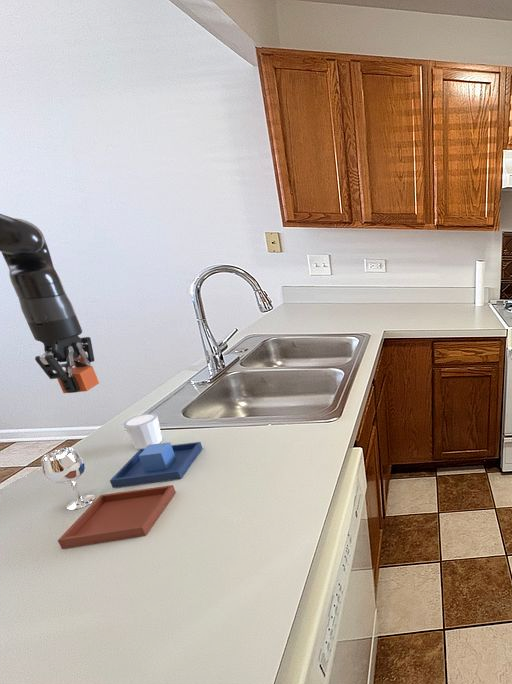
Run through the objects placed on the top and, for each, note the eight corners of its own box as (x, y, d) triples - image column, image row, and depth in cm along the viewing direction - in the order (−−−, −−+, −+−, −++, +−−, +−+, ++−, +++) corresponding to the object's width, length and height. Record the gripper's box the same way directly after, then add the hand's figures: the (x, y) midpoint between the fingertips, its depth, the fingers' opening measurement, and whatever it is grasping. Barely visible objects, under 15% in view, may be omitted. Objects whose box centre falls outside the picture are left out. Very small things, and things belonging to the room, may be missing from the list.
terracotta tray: (61, 548, 71) (57, 540, 71) (104, 502, 82) (100, 494, 82) (145, 535, 74) (142, 527, 73) (176, 492, 85) (173, 484, 84)
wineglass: (104, 498, 83) (82, 451, 79) (67, 516, 79) (42, 466, 74) (93, 489, 86) (72, 442, 82) (57, 505, 81) (32, 457, 77)
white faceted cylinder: (148, 452, 99) (139, 427, 96) (124, 449, 100) (115, 425, 97) (172, 437, 105) (164, 414, 103) (149, 434, 106) (141, 411, 104)
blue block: (144, 472, 91) (138, 455, 89) (154, 460, 95) (148, 444, 93) (167, 469, 92) (161, 453, 90) (176, 457, 96) (170, 442, 94)
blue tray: (112, 488, 87) (109, 480, 86) (142, 455, 98) (140, 448, 97) (180, 478, 89) (178, 471, 89) (202, 448, 100) (200, 441, 100)
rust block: (63, 393, 90) (55, 375, 88) (76, 385, 94) (69, 367, 92) (87, 391, 91) (79, 373, 89) (99, 383, 95) (92, 365, 93)
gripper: (54, 309, 91) (82, 376, 97) (1, 326, 78) (38, 403, 85) (93, 307, 93) (118, 373, 99) (48, 324, 80) (80, 399, 86)
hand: (81, 386), depth 92 cm, fingers closed on rust block, 4 cm apart
